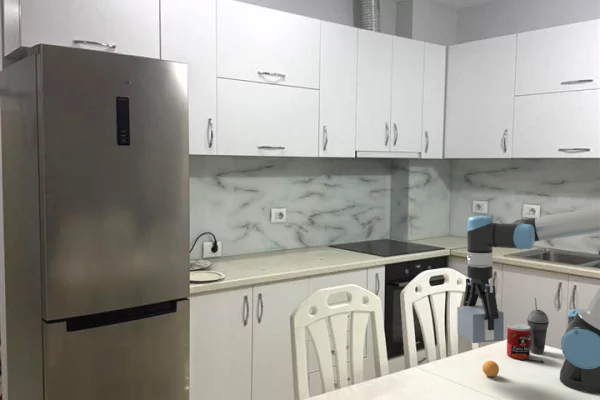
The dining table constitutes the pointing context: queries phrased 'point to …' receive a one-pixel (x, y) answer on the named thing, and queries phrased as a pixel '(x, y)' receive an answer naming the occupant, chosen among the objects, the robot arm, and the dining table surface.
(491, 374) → the ball
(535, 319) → the beverage cup
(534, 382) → the dining table surface
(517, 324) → the canned food
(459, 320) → the slate blue cube
